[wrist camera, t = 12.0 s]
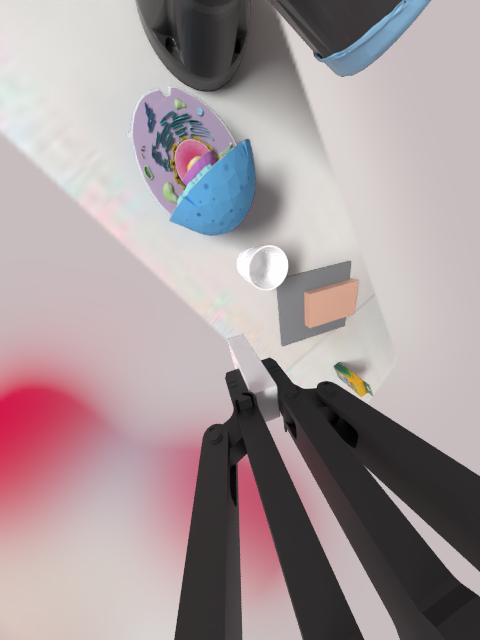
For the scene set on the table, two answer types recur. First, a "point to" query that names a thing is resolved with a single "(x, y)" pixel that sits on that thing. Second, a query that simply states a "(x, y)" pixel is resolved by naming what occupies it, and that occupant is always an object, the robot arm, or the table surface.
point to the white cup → (263, 266)
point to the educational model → (192, 161)
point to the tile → (330, 302)
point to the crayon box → (352, 380)
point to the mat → (293, 301)
